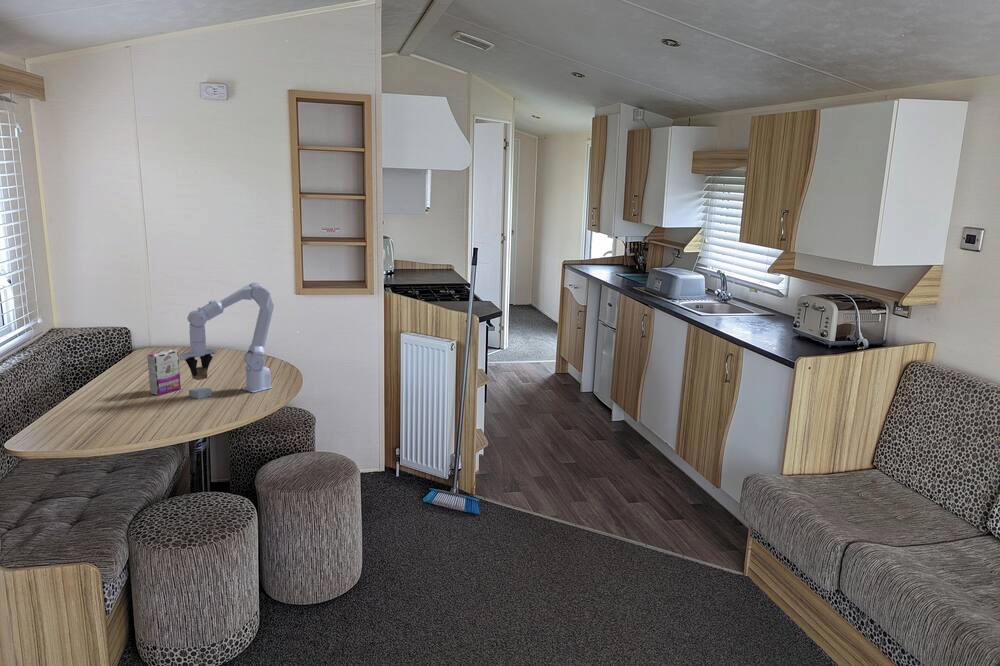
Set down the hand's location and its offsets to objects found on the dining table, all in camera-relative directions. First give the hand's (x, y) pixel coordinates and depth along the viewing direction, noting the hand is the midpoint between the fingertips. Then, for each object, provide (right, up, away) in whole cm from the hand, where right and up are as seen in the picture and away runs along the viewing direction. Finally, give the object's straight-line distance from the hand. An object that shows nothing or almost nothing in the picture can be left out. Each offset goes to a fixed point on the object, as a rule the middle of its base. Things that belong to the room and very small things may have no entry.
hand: (199, 374), depth 282 cm
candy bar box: (-16, -8, +5) cm, 19 cm away
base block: (0, -9, +2) cm, 9 cm away
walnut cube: (0, -2, 0) cm, 2 cm away
